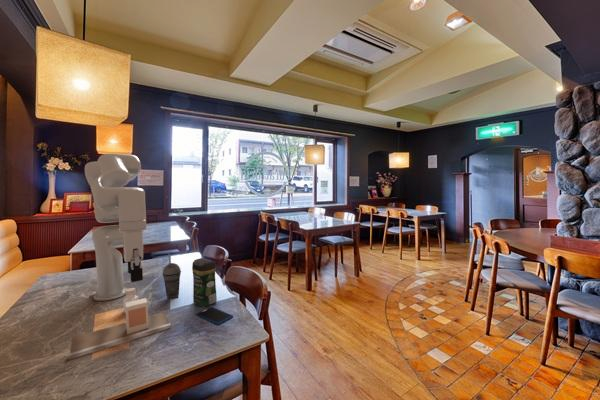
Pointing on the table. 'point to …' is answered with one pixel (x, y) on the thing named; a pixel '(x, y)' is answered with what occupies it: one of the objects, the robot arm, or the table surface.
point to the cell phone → (214, 315)
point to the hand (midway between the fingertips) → (135, 276)
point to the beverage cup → (172, 280)
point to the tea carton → (136, 315)
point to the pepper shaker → (130, 296)
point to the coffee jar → (204, 282)
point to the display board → (114, 336)
